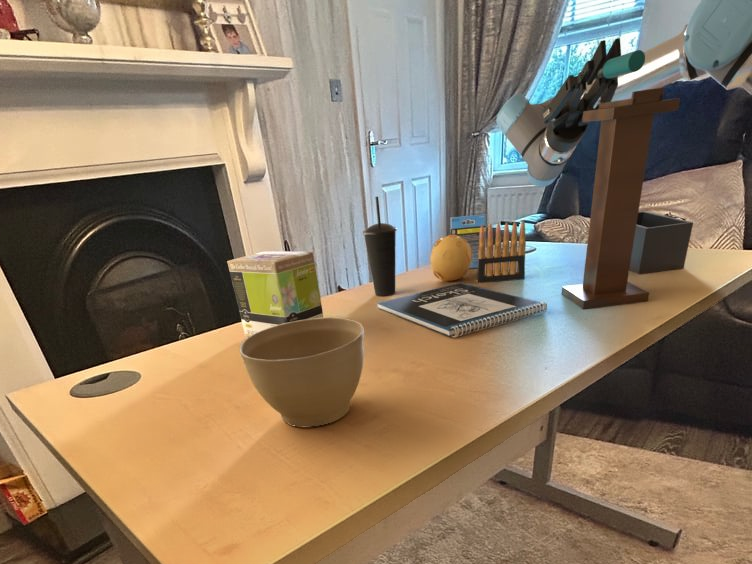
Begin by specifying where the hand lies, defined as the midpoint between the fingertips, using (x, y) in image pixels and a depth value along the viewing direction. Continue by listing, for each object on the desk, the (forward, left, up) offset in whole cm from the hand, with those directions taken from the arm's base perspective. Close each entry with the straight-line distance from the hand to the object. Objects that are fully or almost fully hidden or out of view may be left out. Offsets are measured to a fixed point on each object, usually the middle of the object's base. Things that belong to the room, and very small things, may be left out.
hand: (611, 48), depth 89 cm
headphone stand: (-3, +10, -38) cm, 40 cm away
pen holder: (-12, -20, -38) cm, 45 cm away
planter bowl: (+35, +64, -38) cm, 83 cm away
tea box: (+57, +28, -38) cm, 74 cm away
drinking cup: (+44, -1, -38) cm, 59 cm away
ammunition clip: (+18, -9, -38) cm, 43 cm away
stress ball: (+30, -11, -38) cm, 50 cm away
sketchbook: (+24, +15, -38) cm, 48 cm away
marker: (-1, +3, -4) cm, 5 cm away
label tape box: (+28, -24, -38) cm, 53 cm away
